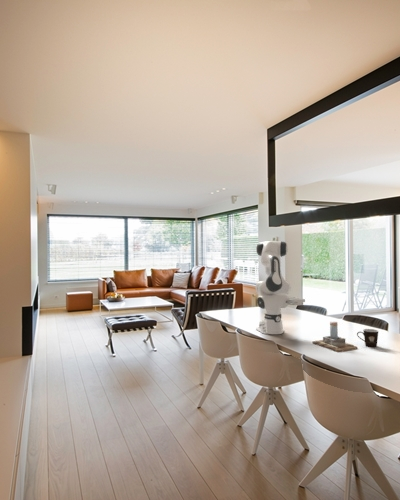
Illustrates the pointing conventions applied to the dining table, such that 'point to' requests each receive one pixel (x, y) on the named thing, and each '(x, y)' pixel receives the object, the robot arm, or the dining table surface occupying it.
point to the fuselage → (333, 330)
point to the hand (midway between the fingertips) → (299, 299)
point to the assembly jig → (335, 344)
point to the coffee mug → (370, 337)
